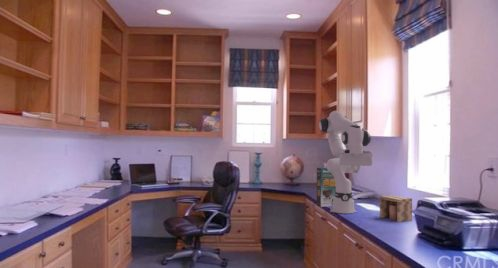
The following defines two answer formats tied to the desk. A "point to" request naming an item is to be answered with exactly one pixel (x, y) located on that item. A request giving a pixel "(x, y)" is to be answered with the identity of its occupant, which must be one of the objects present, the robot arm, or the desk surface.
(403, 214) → the wooden shelf
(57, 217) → the desk surface
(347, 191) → the robot arm
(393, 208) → the peach rounded capsule
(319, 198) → the cake mix box
